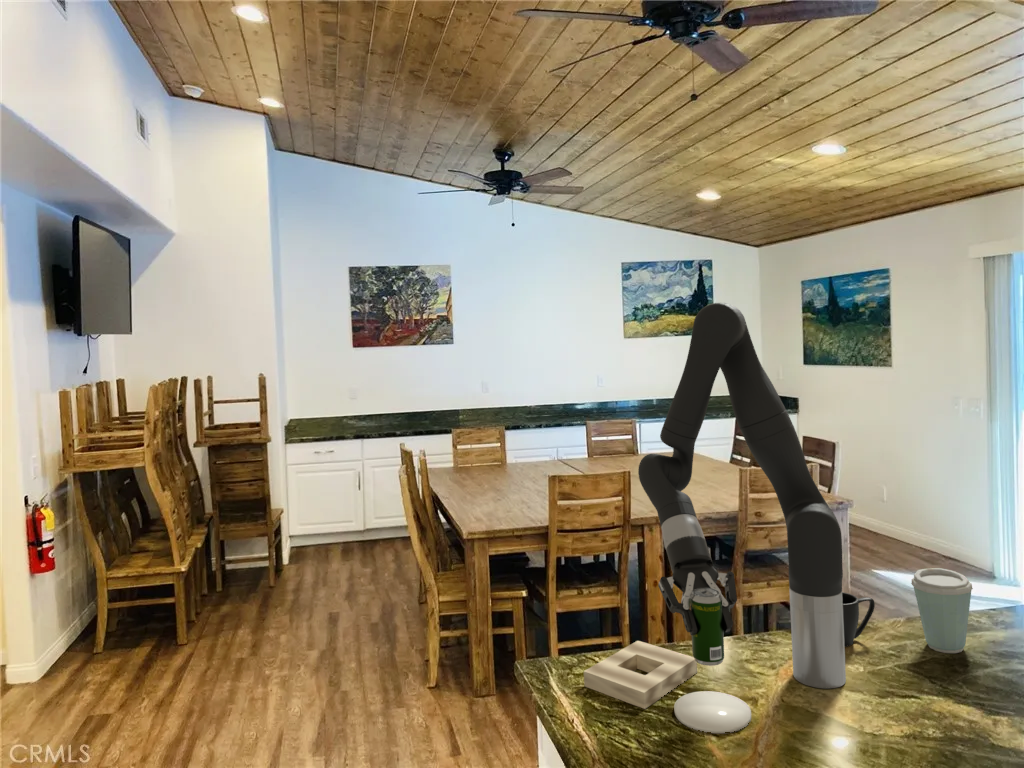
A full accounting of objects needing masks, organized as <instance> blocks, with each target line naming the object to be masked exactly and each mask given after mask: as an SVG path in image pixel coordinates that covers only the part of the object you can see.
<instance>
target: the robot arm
mask: <svg viewBox="0 0 1024 768" xmlns="http://www.w3.org/2000/svg"><path fill="white" fill-rule="evenodd" d="M690 337H691V338H690V343H689V348H688V353H687V356H686V361H685V365H684V368H683V371H682V375H681V378H680V380H679V383H678V387H677V389H676V391H675V392H674V393H675V394H674V396H673V399H672V402H671V404H670V406H669V409H668V411H667V414H666V417H665V419H664V423H663V426H662V428H661V431H660V436H659V437H660V440H661V442H662V443H663V444H664V445H666V446H668V447H670V448H672V451H673V452H672V455H671V456H668V455H663V454H658V453H649V454H646V455H645V456H643V457H642V458H641V460H640V461H639V465H638V479H639V482H640V485H641V487H642V489H643V490H644V493H645V494H646V495H647V497H648V499H649V500H650V502H651V504H652V505H653V507H654V508H655V510H656V513H657V518H658V520H659V524H660V528H661V531H662V539H663V546H664V549H665V550H666V555H667V557H668V558H667V559H668V562H669V566H670V569H671V573H672V575H671V576H669V577H666V576H661V577H660V579H659V581H658V588H659V591H660V593H661V595H662V597H663V599H664V601H665V604H666V606H667V608H668V609H669V612H671V614H675V613H677V614H680V615H681V616H682V621H683V623H684V628H685V631H686V632H687V633H689V634H690V636H692V635H696V633H697V627H696V623H695V620H694V616H693V613H692V610H691V602H690V597H691V595H692V590H693V589H696V588H713V589H717V590H719V591H720V592H721V597H722V607H723V633H724V634H725V633H730V632H731V630H732V627H733V625H734V621H733V618H732V615H731V613H730V612H731V611H730V609H733V608H734V607H735V604H736V602H737V601H738V599H737V598H738V596H737V588H736V581H735V580H736V579H735V573H734V572H733V571H730V570H729V571H727V573H725V572H724V573H723V572H718V570H717V569H716V568H715V567H714V563H713V560H712V557H711V553H710V550H709V547H708V544H707V541H706V538H705V535H704V531H703V529H702V526H701V524H700V522H699V519H698V518H697V513H696V511H695V508H694V507H695V506H694V504H693V501H692V499H691V497H690V496H689V495H688V494H687V493H685V492H683V491H684V490H685V489H686V488H687V486H688V485H689V484H690V482H691V479H692V474H693V465H694V463H693V462H694V455H695V454H694V453H695V443H696V442H697V439H698V436H699V433H700V431H701V428H702V425H703V424H704V420H705V418H706V414H707V411H708V410H707V409H708V406H709V402H710V398H711V394H712V392H713V391H712V390H713V387H714V383H715V381H716V378H717V376H718V373H719V371H720V370H721V373H722V375H723V377H724V379H725V383H726V386H727V390H728V395H729V399H730V403H731V407H732V411H733V413H734V417H735V418H734V419H735V420H736V423H737V425H738V428H739V430H740V432H741V435H742V436H743V438H744V440H745V443H746V445H747V448H748V449H749V450H750V452H751V455H752V456H753V457H754V459H755V461H756V462H757V465H758V466H759V467H760V469H761V471H763V473H764V474H765V475H766V476H765V477H767V479H768V480H769V482H770V483H771V485H772V487H773V490H774V492H775V494H776V496H777V500H778V502H779V505H780V507H781V511H782V513H783V514H782V515H783V517H784V520H785V525H786V538H787V539H786V540H787V559H788V560H787V561H788V586H789V588H788V590H789V611H790V612H789V613H790V628H791V652H792V653H791V654H792V672H793V677H794V679H795V680H796V681H798V682H799V683H801V684H803V685H805V686H808V687H813V688H816V689H817V688H818V689H836V688H840V687H842V686H843V685H845V684H846V681H847V678H846V677H847V675H846V649H845V646H844V621H843V599H842V592H843V577H844V576H843V575H844V573H843V572H844V571H843V539H842V537H843V536H842V529H841V526H840V524H839V522H838V519H837V516H836V515H835V513H834V512H833V510H832V509H831V507H830V506H829V505H828V502H827V501H826V500H825V498H824V495H823V494H822V493H821V491H820V490H819V488H818V486H817V484H816V483H815V480H814V479H813V477H812V475H811V473H810V470H809V468H808V464H807V461H806V458H805V454H804V451H803V448H802V445H801V443H800V439H799V436H798V434H797V431H796V429H795V426H794V424H793V422H792V420H791V417H790V415H789V414H788V411H787V409H786V407H785V405H784V403H783V401H782V399H781V396H780V395H779V393H778V391H777V390H776V387H774V384H773V383H772V381H771V379H770V378H769V376H768V374H767V373H766V371H765V368H764V367H763V366H762V364H761V362H760V359H759V357H758V355H757V352H756V349H755V347H754V344H753V341H752V338H751V334H750V332H749V328H748V325H747V322H746V318H745V316H744V314H743V313H742V311H741V310H740V309H739V308H738V307H736V306H735V305H733V304H731V303H726V302H713V303H709V304H707V305H706V306H704V307H702V308H701V309H700V310H699V311H698V313H697V314H696V316H695V318H694V321H693V326H692V333H691V336H690ZM718 581H720V584H721V585H722V587H724V591H725V597H724V595H723V594H722V591H721V589H720V588H719V586H718V585H717V584H716V583H717V582H718ZM674 585H675V586H676V587H677V588H678V589H679V590H680V591H681V592H682V595H681V602H679V601H678V598H677V596H676V595H675V592H674V590H673V588H674Z"/></svg>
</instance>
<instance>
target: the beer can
mask: <svg viewBox="0 0 1024 768" xmlns="http://www.w3.org/2000/svg"><path fill="white" fill-rule="evenodd" d="M720 591H721V590H720ZM720 591H719V590H717V589H713V588H696V589H693V590H692V595H691V597H690V602H691V604H690V610H692V613H693V616H694V620H695V623H696V627H697V633H696V635H691V647H692V648H691V649H692V652H691V653H692V657H694V659H695V661H696V662H697V664H700V665H701V666H702V665H703V666H707V667H708V666H709V667H711V666H718V665H720V664H723V661H724V659H725V642H724V641H725V640H724V639H725V637H724V634H725V633H724V630H723V607H722V597H721V594H722V591H721V592H720Z"/></svg>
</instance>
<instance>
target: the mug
mask: <svg viewBox="0 0 1024 768" xmlns="http://www.w3.org/2000/svg"><path fill="white" fill-rule="evenodd" d="M842 599H843V621H844V646H845V647H850V646H853V644H854V640H855V639H857V638H858V637H859V636H860V635H861V634H862V632H863V631H864V629H865V628H866V627H867V624H868V622H869V621H870V619H871V617H872V615H873V613H874V610H875V606H876V605H875V600H874V599H873V597H872V598H871V597H869V596H867V597H866V596H863V597H859V598H858V597H857V596H856V595H854V594H851V593H847V592H844V591H842ZM866 601H867V602H868V601H869V606H868V609H867V611H866V614H865V615H864V617H863V620H862V622H861V623H860V624H859V619H860V603H862V602H866ZM858 625H859V626H858Z"/></svg>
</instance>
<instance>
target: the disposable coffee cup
mask: <svg viewBox="0 0 1024 768" xmlns="http://www.w3.org/2000/svg"><path fill="white" fill-rule="evenodd" d="M910 584H911V585H912V587H913V590H914V595H915V600H916V602H917V603H916V604H917V607H918V611H919V615H920V622H921V626H922V629H923V635H924V638H925V642H926V643H927V646H928V647H929V649H931V650H933V651H936V652H938V653H939V652H940V653H944V654H958V653H962V651H963V650H964V648H965V646H966V641H967V633H968V625H969V615H970V607H971V606H970V604H971V598H972V597H971V596H972V590H973V589H974V588H973V584H972V582H971V581H970V580H969V579H968V578H967V577H966V576H965V575H964V574H962V573H959V572H957V571H955V570H951V569H946V568H942V567H933V568H932V567H929V568H922V569H917V570H916V572H915V573H914V574H913V577H912V579H911V583H910Z"/></svg>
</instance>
